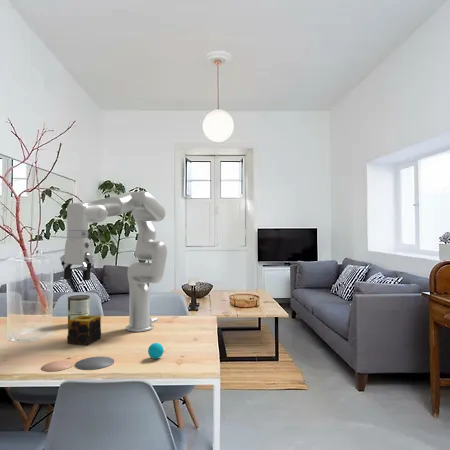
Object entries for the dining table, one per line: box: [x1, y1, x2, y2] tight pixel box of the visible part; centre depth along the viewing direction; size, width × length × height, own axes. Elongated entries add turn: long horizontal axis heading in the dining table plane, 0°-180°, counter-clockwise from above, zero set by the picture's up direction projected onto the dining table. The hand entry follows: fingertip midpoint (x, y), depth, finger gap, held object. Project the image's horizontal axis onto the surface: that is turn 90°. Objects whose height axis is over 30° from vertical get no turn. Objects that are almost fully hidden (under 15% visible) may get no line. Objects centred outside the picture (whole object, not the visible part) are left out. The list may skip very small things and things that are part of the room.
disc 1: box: [41, 360, 75, 372], centre depth 127 cm, size 10×10×1 cm
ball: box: [147, 342, 164, 360], centre depth 135 cm, size 6×6×6 cm
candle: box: [66, 315, 102, 346], centre depth 157 cm, size 10×10×10 cm
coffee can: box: [67, 294, 90, 321], centre depth 186 cm, size 10×10×14 cm
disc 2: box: [74, 356, 115, 371], centre depth 130 cm, size 13×13×1 cm
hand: (77, 279), depth 143 cm, fingers open, 9 cm apart
